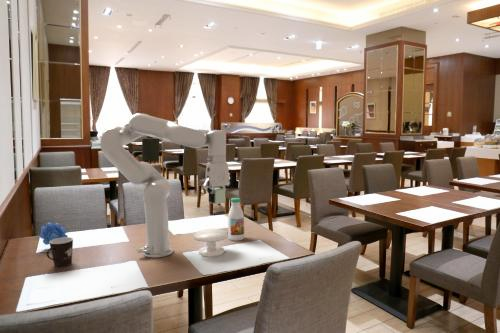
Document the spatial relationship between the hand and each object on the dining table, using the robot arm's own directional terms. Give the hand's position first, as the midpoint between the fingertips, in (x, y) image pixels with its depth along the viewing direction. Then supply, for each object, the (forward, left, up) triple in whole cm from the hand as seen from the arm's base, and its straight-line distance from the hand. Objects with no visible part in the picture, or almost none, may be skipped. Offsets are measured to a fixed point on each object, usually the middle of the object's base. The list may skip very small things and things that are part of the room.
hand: (216, 201), depth 166 cm
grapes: (-46, +62, -23) cm, 81 cm away
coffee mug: (-53, +37, -23) cm, 69 cm away
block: (0, 0, -1) cm, 1 cm away
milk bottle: (+19, +8, -23) cm, 31 cm away
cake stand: (-2, +2, -23) cm, 23 cm away
